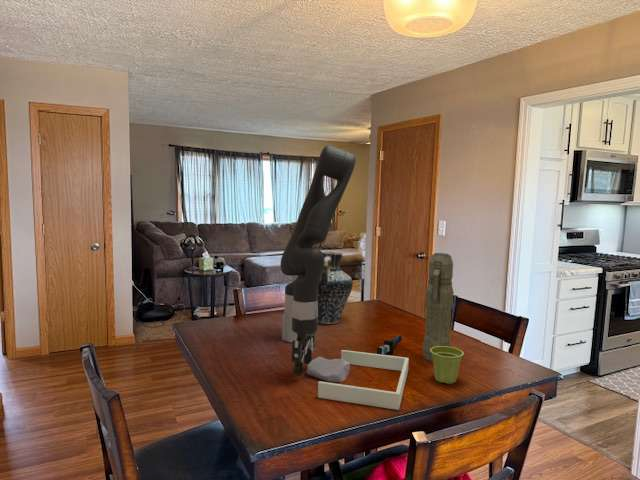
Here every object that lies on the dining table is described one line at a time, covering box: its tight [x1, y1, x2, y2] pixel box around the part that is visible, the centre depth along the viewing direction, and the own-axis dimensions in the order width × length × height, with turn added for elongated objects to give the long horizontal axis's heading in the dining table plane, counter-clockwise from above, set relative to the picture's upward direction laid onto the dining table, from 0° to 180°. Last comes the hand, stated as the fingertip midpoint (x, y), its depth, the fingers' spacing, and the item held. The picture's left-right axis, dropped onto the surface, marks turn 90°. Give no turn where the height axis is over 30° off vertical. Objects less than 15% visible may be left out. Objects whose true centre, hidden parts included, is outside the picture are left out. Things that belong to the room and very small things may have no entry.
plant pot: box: [430, 346, 465, 385], centre depth 128 cm, size 9×9×9 cm
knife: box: [376, 334, 403, 355], centre depth 153 cm, size 31×3×4 cm, turn 152°
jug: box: [317, 250, 354, 325], centre depth 186 cm, size 21×19×30 cm
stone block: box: [306, 356, 351, 383], centre depth 130 cm, size 12×5×10 cm
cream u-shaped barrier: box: [317, 349, 410, 411], centre depth 125 cm, size 21×27×4 cm
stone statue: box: [422, 252, 454, 363], centre depth 145 cm, size 9×12×35 cm
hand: (303, 369), depth 130 cm, fingers open, 8 cm apart
